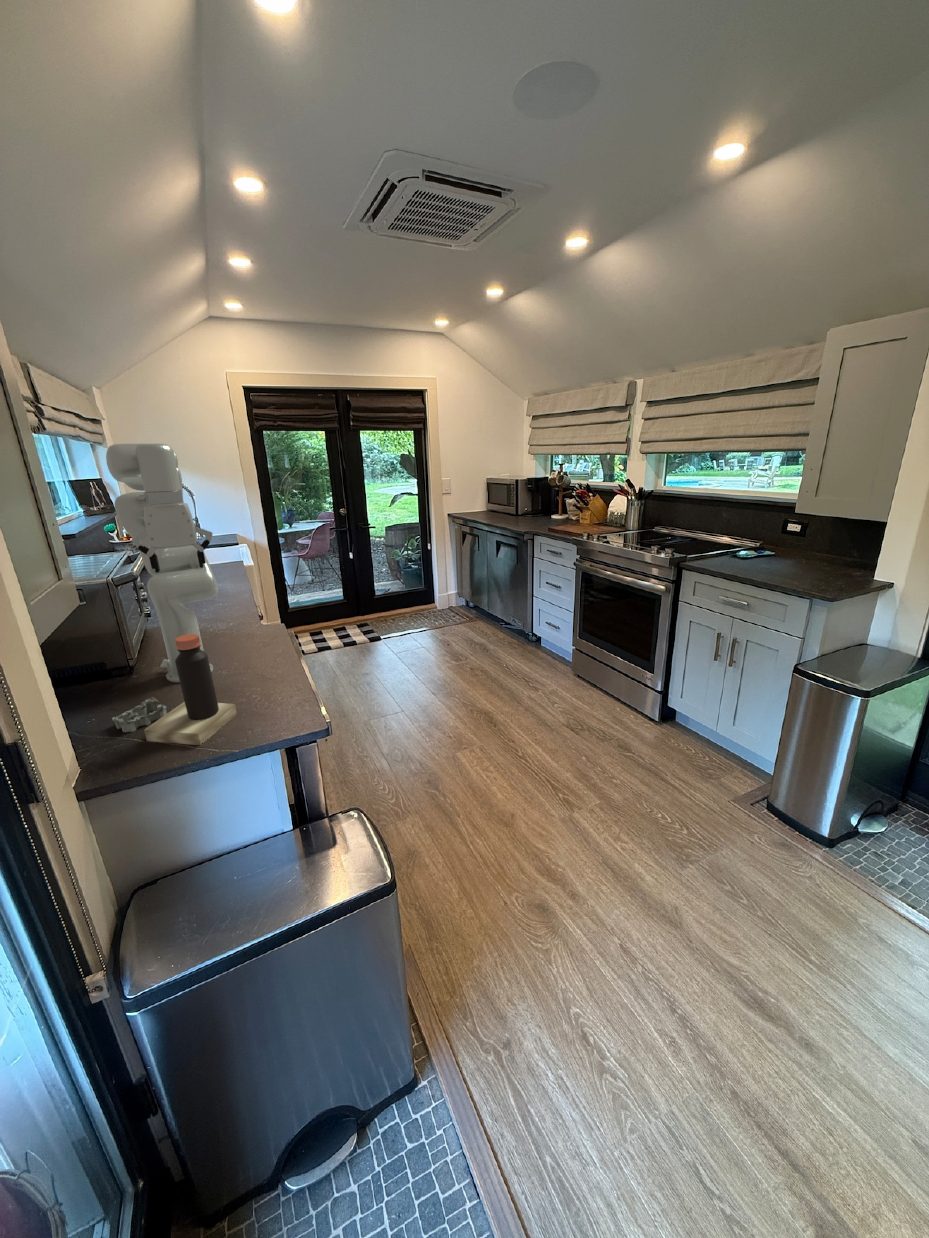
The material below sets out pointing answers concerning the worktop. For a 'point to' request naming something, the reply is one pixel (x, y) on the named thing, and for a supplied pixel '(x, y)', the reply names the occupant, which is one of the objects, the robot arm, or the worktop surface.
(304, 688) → the worktop surface
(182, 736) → the maple base
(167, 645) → the robot arm
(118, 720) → the egg carton
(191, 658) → the vinegar
